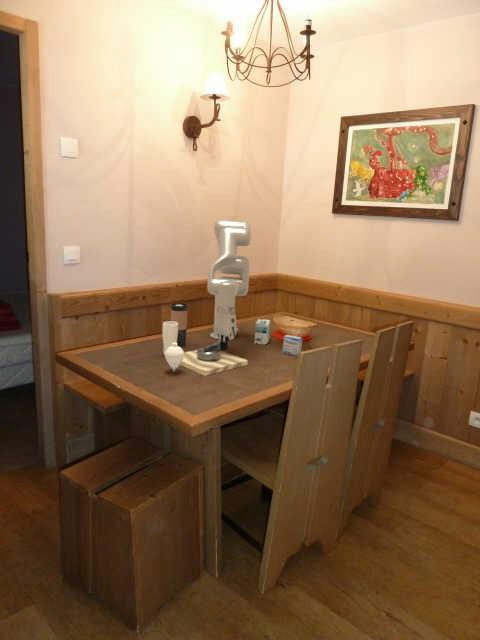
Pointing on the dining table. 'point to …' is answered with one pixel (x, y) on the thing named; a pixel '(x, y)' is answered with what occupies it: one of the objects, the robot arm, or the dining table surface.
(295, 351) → the medicine box
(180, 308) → the travel mug
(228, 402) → the dining table surface
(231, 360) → the board
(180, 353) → the spinning top
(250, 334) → the dining table surface
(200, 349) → the silver piece
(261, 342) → the light bulb box
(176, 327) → the drinking glass
